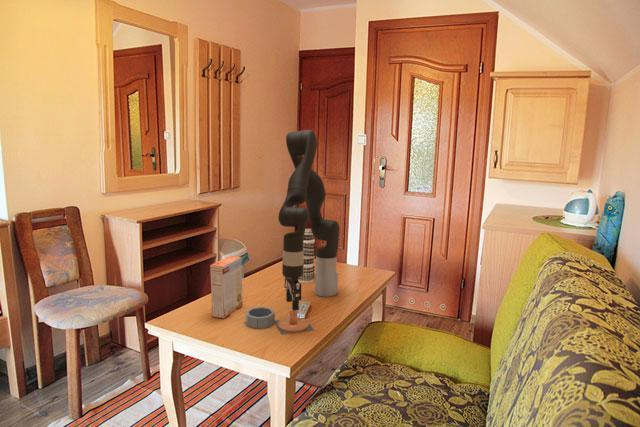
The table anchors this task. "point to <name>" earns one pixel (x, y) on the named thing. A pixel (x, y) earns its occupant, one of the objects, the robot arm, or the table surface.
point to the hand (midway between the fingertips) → (292, 305)
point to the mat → (292, 332)
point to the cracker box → (226, 286)
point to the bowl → (260, 317)
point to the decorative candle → (308, 257)
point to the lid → (293, 323)
